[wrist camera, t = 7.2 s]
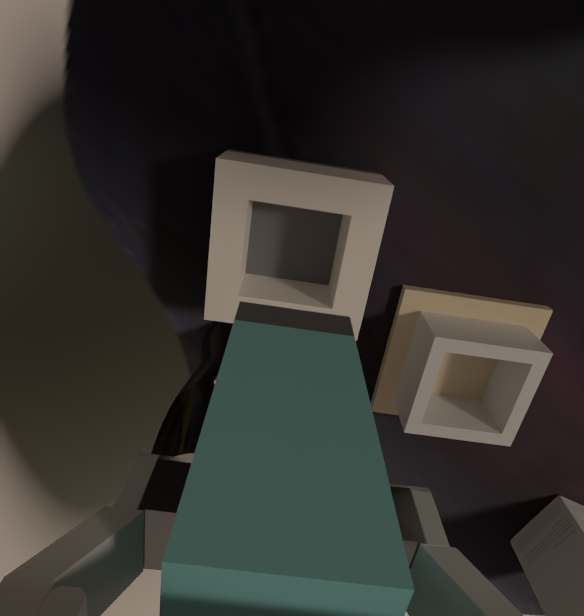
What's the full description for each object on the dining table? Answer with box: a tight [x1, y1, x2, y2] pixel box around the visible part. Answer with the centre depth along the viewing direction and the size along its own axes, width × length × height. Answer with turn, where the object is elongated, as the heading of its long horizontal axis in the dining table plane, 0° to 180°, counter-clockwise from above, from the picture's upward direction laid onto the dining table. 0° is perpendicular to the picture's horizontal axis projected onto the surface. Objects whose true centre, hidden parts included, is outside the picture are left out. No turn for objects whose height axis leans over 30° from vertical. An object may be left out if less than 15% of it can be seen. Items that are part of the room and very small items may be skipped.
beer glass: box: [151, 322, 233, 459], centre depth 29 cm, size 7×7×15 cm
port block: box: [204, 149, 394, 341], centre depth 29 cm, size 10×10×5 cm
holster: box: [371, 285, 553, 446], centre depth 33 cm, size 11×11×5 cm
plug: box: [160, 301, 414, 616], centre depth 12 cm, size 4×4×10 cm
